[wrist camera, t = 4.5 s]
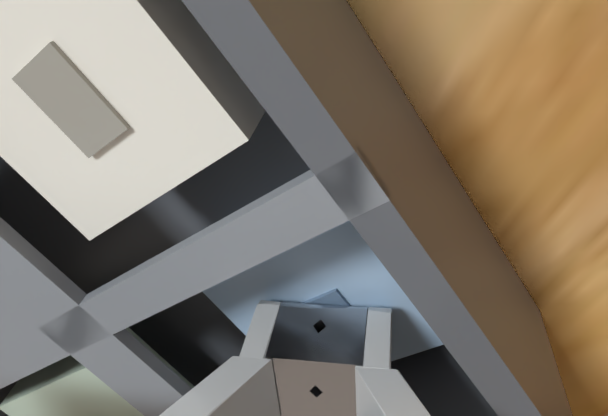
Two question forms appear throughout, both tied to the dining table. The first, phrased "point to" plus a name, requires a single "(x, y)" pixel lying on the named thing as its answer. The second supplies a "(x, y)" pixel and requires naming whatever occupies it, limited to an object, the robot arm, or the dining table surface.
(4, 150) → the key cream
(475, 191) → the dining table surface
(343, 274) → the key blue
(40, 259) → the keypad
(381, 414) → the robot arm
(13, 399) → the key sage
